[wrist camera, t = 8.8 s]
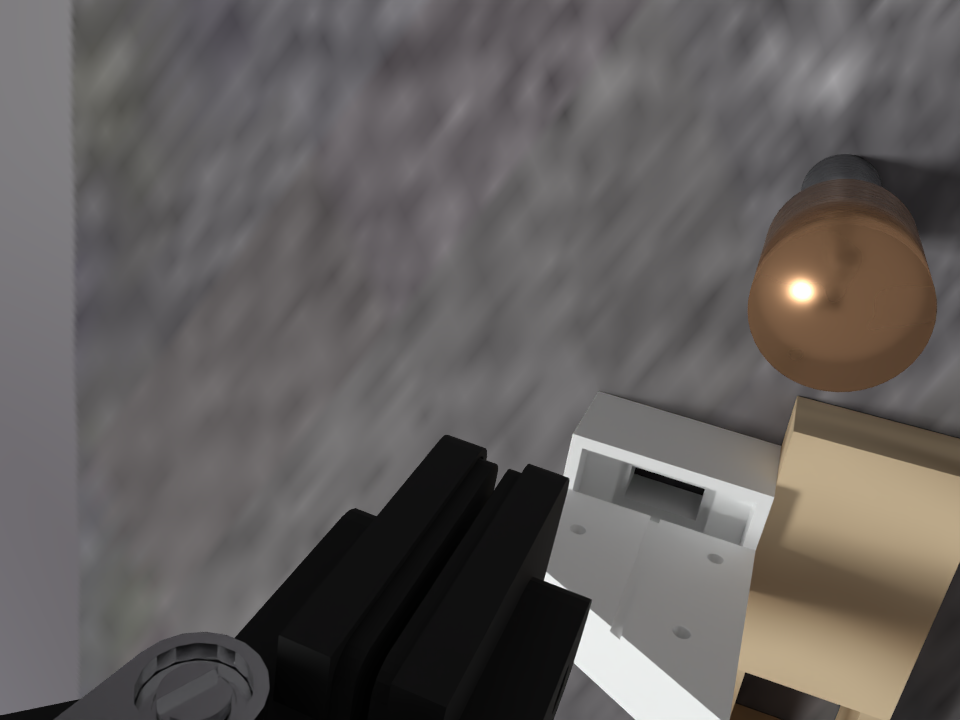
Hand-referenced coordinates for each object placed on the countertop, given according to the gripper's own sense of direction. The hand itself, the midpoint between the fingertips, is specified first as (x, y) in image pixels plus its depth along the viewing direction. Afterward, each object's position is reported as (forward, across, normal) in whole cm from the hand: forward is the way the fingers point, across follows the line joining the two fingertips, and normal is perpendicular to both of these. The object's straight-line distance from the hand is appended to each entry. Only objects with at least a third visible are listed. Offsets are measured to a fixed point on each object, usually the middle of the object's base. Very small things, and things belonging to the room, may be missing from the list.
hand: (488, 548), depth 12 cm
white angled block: (+17, -2, +8) cm, 18 cm away
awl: (+17, -4, -2) cm, 17 cm away
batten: (+16, -7, +11) cm, 21 cm away
